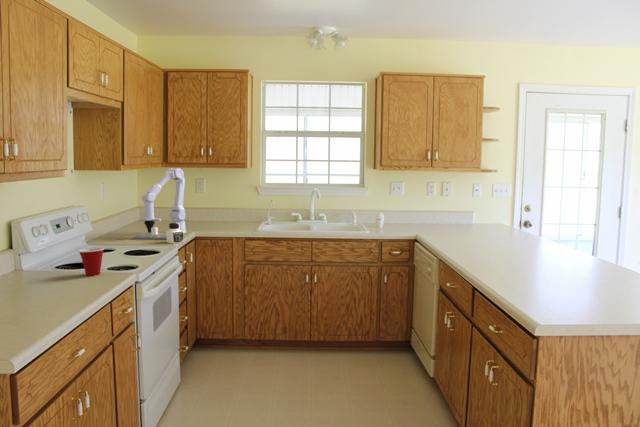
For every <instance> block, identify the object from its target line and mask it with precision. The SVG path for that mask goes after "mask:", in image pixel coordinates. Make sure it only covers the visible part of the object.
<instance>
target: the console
mask: <svg viewBox="0 0 640 427" xmlns="http://www.w3.org/2000/svg"><path fill="white" fill-rule="evenodd" d="M132 240H145V241H146V240H149V241H151V240H153V241H167V238H166V232H165V233H163V232H161V233H160V232H158V235H152V234H151V233H148V232H141V233H138V234H137V235H135V236H133V237H132Z"/></svg>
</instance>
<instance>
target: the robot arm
mask: <svg viewBox="0 0 640 427" xmlns="http://www.w3.org/2000/svg"><path fill="white" fill-rule="evenodd" d="M184 174H185V172H184V171H183V170H182V168H172V167H169V168H168V169H167V170H166V171H165V173H164V175H163V176H162V177H161V178H160V180H159V181H158V183H153V184H151V188H150V189H148V190H147V191H146V192H145V193H143V195H142V197H141V199H142V202H143V208H144V217H138V218H137V222H144V225H145V227H146V229H147V233H151V228H153V227H154V225H155V222H159V223H160V222H162V218H161V217H160V218H159V217H155V210H154V208H155V206H154V201H156V197H158V194H159V193H160V192H161V191H162V187H163V186H164V185H165V184H166V183H167V182H169V181H170V180H173V181H174V182H175V195H174V205H173V206H172V208H171V212H169V214H170V215H169V216H170V218H171V221H172V223H179V226H180V229H179V230H181V231H183V235H184V234H186V233H187V231H186V222H185V219H186V216H187V214H186V209H185V208H184V198H185V197H184V196H185V195H184V194H185V184H186V178H185V175H184Z"/></svg>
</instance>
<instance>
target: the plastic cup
mask: <svg viewBox="0 0 640 427" xmlns="http://www.w3.org/2000/svg"><path fill="white" fill-rule="evenodd" d="M104 250H105V247H92V248H84V249H79V250H78V251H77V252H78V253H79V255H80V257H81V261H82V265H83V268H84V272H85V275H86V277H95V276H94V275H97V276H100V275H101V268H102V264H103V263H102V261H103V254H104Z"/></svg>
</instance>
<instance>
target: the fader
mask: <svg viewBox="0 0 640 427" xmlns="http://www.w3.org/2000/svg"><path fill="white" fill-rule="evenodd" d="M158 231H159V228H158V226H157V227H156V226H153V228H151V234H152V235H158V233H159V232H158Z"/></svg>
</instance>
